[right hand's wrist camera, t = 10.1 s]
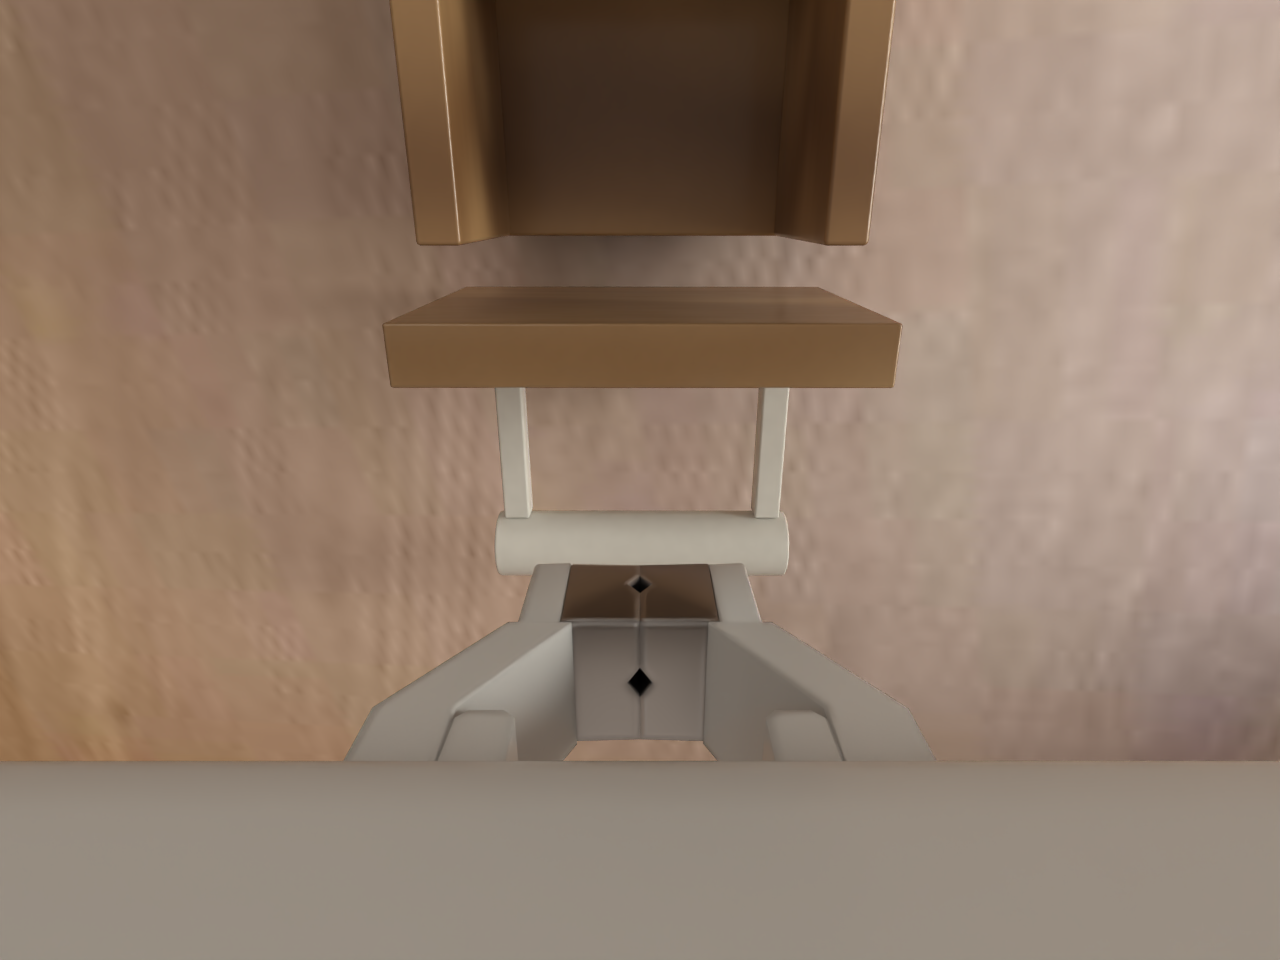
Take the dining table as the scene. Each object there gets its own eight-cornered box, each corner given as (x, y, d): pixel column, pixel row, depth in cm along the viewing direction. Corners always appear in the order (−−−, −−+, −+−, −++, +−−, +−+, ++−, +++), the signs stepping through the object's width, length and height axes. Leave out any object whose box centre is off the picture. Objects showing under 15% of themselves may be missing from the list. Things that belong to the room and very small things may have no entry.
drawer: (798, 513, 21) (860, 634, 15) (485, 513, 21) (422, 633, 15) (906, -646, 12) (1146, -1425, 6) (380, -646, 12) (143, -1424, 6)
